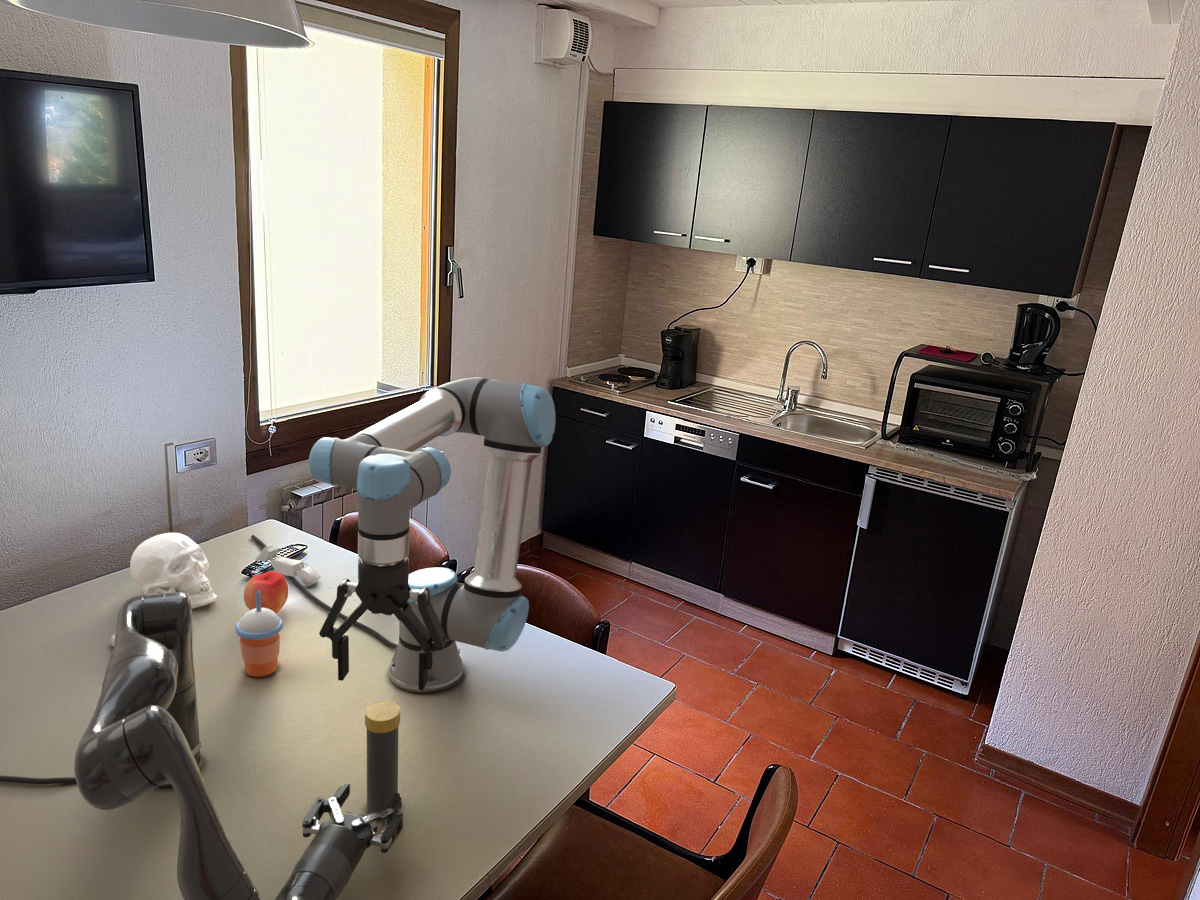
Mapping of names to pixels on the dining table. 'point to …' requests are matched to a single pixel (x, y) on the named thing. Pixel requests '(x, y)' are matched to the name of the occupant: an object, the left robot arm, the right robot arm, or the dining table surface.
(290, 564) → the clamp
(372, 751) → the jar
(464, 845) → the dining table surface
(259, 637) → the cup with straw
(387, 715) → the lid
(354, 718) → the dining table surface
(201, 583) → the skull
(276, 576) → the apple
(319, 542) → the dining table surface
